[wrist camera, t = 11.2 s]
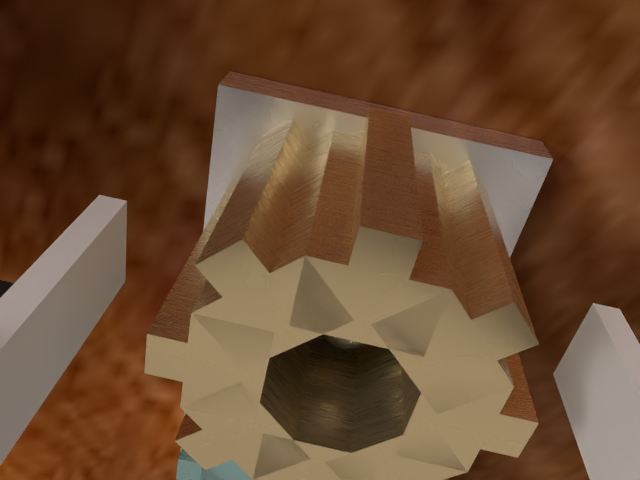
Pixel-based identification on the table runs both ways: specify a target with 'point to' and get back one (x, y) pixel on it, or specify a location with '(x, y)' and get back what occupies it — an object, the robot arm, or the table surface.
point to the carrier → (350, 116)
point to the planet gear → (348, 316)
